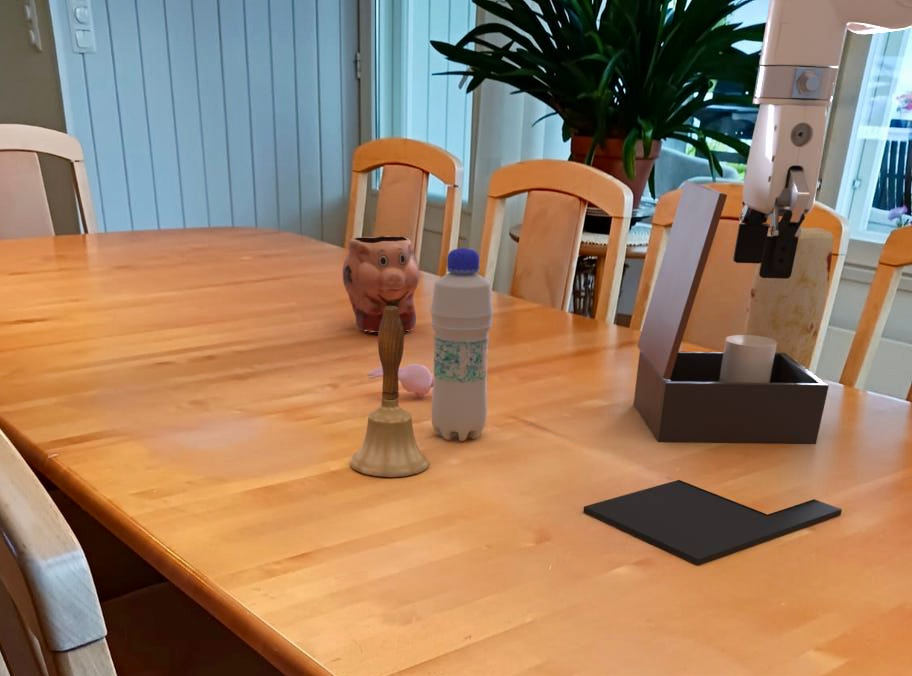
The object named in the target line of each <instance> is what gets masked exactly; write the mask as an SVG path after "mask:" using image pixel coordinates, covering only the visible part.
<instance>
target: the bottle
mask: <svg viewBox="0 0 912 676" xmlns="http://www.w3.org/2000/svg"><path fill="white" fill-rule="evenodd" d="M446 261H447V265H446V266H447V268H446V269H447V272H448V273H446V274H445V275H443V276H441V277H440V278H437V279H436V280H435V282H434V287H433V295H432V302H431V307H430V314H431V322H430V324H431V326H432V329H433V331H434V334H433V379H434V383H433V387H432V396H431V397H432V398H431V407H430V409H431V411H430V412H431V413H430V415H431V416H430V417H431V425H432V429H433V431H434V433H435V434H436V435H437V436H439V437H443V439H445V440H448V441H449V440H452V435H453V432H455V433H457V436H458V440H459V441H460V442H463V441H466V440H467V438H468V435H470V438H471V439H473V440H474V439H477V438H479V437H480V436H481V434H482V432H483V431H484V429H485V428H486V423H487V417H488V416H487V415H488V395H487V394H488V392H487V391H488V390H487V389H488V388H487V377H488V355H489V353H488V352H489V332H490V330H491V327H492V325H493V323H492V319H493V314H494V309H493V308H494V307H493V298H492V297H493V296H492V287H491V281H489V279H486V278H485V277H483V276H482V275H481V274H479V272H480V255H479V253H478V251H476V250H475V249H471V248H467V247H461V248H455V249H452V250H450V252H449V253H448V255H447V260H446Z"/></svg>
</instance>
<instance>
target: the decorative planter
mask: <svg viewBox="0 0 912 676" xmlns="http://www.w3.org/2000/svg"><path fill="white" fill-rule="evenodd" d="M419 265H420V264H419V263H418V260H417V257H416V254H415V251H414V248H413V243H412V241H411V240H410V239H409V238H408V237H404V236H400V235H399V236H398V235H380V236H360V237H352V238H350V240H349V243H348V253H347V255H346V257H345V259H344V263H343V266H342V281H343V286H344V289H345V291H346V293H347V296H348V299H349V302H350V305H351V309H352V311H353V314H354V316H355V317H354V318H355V323H356V326H358V327H359V328H361V329H362V330H361V329H360V330H361V331H363V330H367V331H374V332H379V327H380V324H381V321H382V318H383V314H384V310H385V307H386V306H396V307H398V312H399V317H400V320H401V323H402V327H403V331H407V330H411V329H413V328H414V329H415V327H416V322H417V314H416V305H415V293H416V291H417V289H418V288H419V285H420V280H421V274H420V273H421V272H420V266H419ZM358 327H357V328H358ZM359 328H358V329H359ZM414 329H413V330H414Z"/></svg>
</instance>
